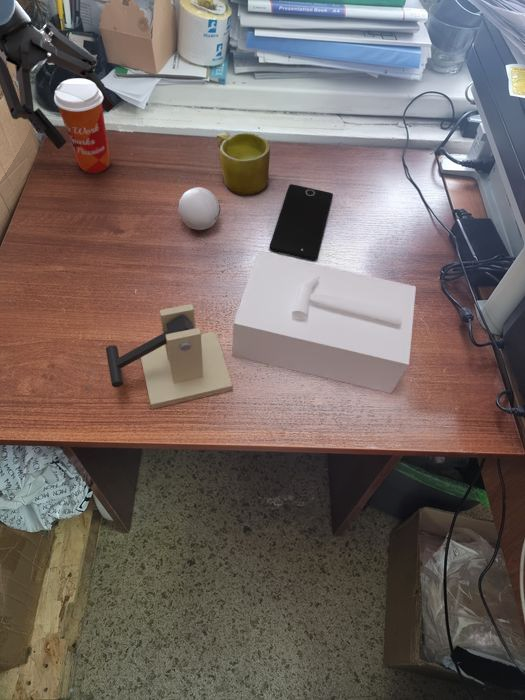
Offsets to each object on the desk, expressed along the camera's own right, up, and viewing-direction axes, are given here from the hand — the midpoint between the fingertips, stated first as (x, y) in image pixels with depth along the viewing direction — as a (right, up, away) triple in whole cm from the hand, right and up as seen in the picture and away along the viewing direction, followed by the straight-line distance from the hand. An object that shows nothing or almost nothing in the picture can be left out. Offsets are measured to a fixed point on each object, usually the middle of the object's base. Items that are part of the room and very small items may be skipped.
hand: (88, 126), depth 93 cm
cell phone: (+40, -17, +2) cm, 43 cm away
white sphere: (+21, -17, +1) cm, 27 cm away
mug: (+28, -7, +8) cm, 30 cm away
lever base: (+21, -44, -17) cm, 52 cm away
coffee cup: (-1, -4, +7) cm, 8 cm away
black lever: (+17, -41, -24) cm, 51 cm away
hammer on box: (+41, -39, -12) cm, 58 cm away
